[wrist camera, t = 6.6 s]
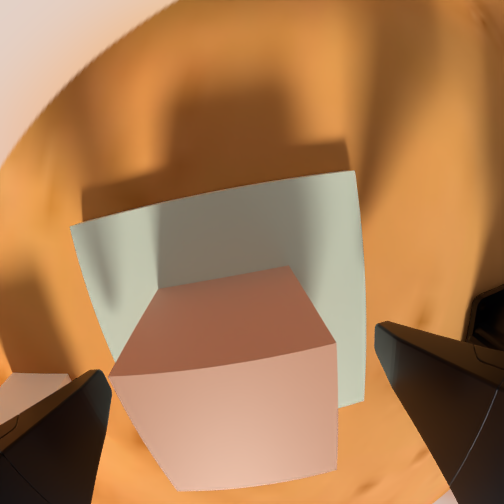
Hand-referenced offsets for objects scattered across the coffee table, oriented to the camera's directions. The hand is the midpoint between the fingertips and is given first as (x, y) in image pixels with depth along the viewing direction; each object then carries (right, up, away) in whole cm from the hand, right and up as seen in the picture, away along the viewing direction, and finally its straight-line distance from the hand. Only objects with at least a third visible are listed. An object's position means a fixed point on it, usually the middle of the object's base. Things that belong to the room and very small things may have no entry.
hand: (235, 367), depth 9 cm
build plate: (0, +1, +3) cm, 3 cm away
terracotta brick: (0, 0, +2) cm, 2 cm away
